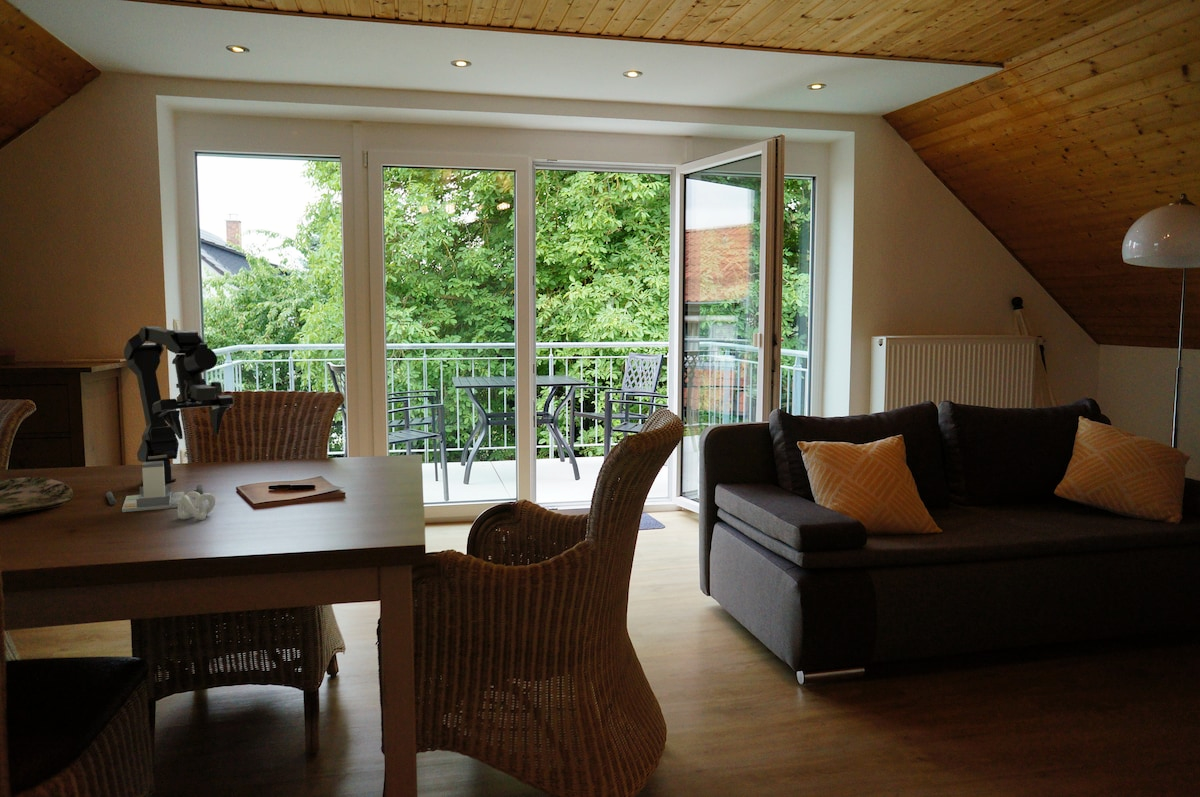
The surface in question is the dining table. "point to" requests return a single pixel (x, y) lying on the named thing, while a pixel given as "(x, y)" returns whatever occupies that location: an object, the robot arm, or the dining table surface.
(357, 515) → the dining table surface
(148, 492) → the grey upright block
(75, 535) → the dining table surface
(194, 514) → the knot
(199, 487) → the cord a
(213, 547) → the dining table surface
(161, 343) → the robot arm
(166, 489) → the panel
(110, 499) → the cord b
